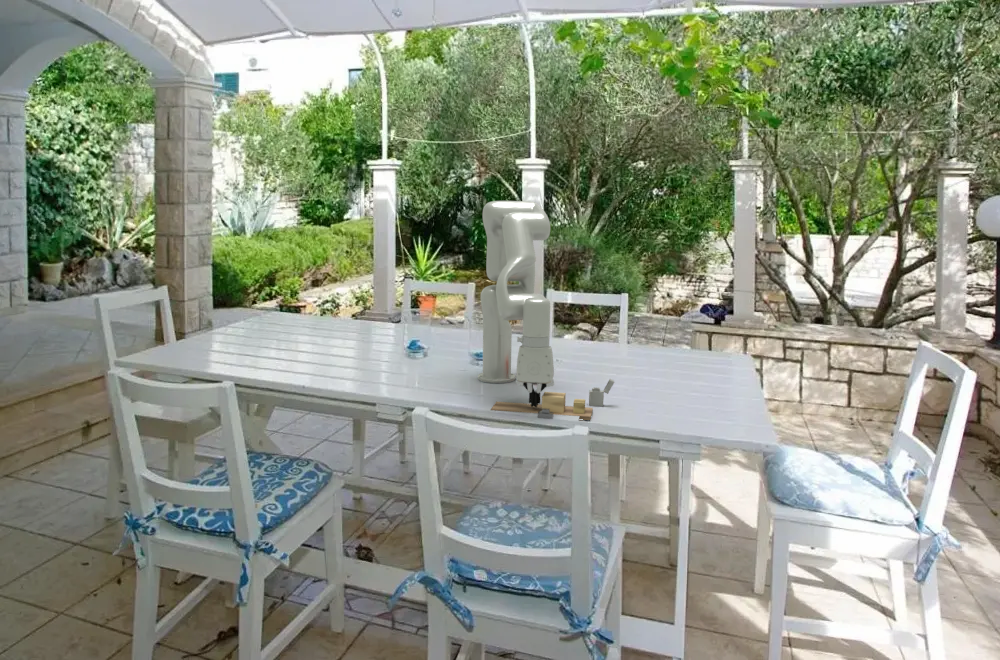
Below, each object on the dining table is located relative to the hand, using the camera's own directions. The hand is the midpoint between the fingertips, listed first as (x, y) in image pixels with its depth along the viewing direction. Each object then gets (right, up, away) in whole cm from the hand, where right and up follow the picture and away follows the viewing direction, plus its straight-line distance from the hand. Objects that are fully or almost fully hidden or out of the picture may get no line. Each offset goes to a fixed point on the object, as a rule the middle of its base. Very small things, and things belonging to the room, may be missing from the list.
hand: (534, 405), depth 210 cm
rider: (+5, -1, -1) cm, 6 cm away
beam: (+2, -2, 0) cm, 3 cm away
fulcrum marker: (+3, -4, -8) cm, 9 cm away
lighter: (+20, -1, +9) cm, 22 cm away
